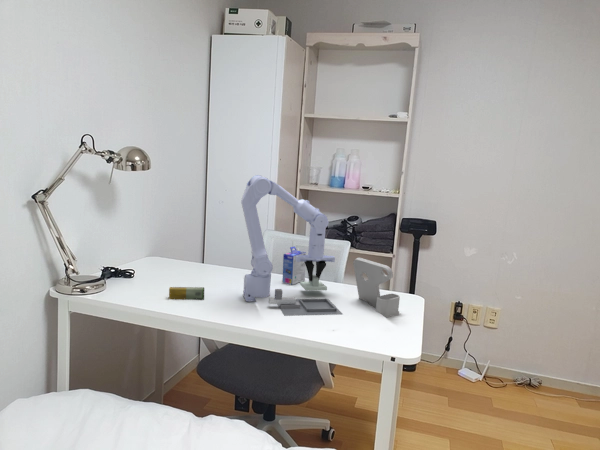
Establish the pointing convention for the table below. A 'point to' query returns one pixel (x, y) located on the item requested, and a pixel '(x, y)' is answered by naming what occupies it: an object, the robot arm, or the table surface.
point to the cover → (313, 284)
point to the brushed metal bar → (281, 298)
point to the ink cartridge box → (293, 267)
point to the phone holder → (375, 286)
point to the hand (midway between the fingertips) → (313, 280)
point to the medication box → (186, 293)
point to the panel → (309, 307)
